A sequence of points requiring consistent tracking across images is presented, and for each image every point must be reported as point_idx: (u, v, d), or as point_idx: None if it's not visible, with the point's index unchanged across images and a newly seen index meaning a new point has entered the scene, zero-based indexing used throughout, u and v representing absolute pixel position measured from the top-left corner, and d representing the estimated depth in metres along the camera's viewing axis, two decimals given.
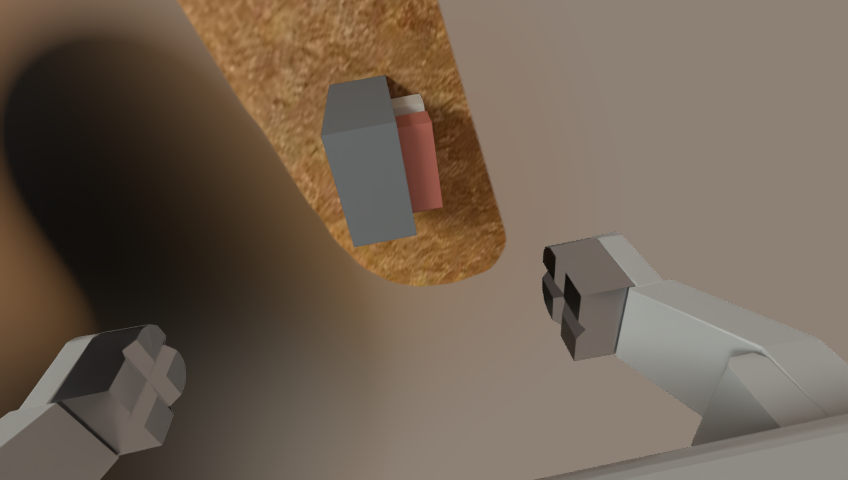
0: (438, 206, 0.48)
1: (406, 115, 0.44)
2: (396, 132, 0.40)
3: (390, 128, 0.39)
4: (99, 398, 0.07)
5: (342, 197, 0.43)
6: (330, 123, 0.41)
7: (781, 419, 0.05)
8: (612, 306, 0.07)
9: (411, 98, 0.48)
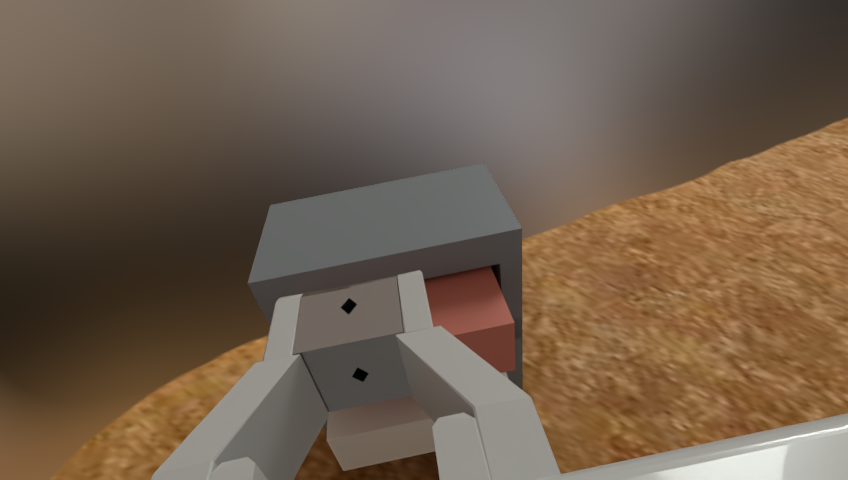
0: None
1: None
2: (500, 230, 0.20)
3: (507, 223, 0.20)
4: (337, 350, 0.07)
5: (374, 187, 0.25)
6: None
7: None
8: (387, 351, 0.07)
9: None
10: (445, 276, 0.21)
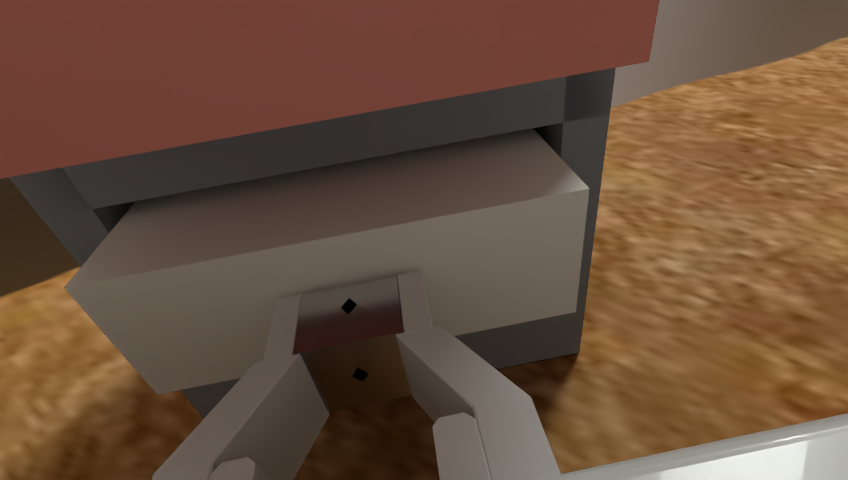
0: None
1: None
2: None
3: None
4: (337, 350, 0.07)
5: None
6: None
7: None
8: (387, 351, 0.07)
9: None
10: None
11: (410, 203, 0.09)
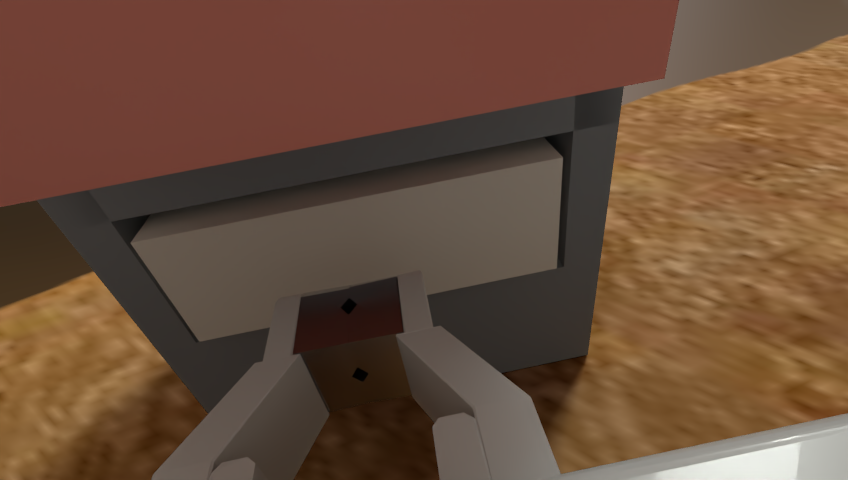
0: None
1: None
2: None
3: None
4: (337, 350, 0.07)
5: None
6: None
7: None
8: (387, 351, 0.07)
9: None
10: None
11: (414, 173, 0.10)
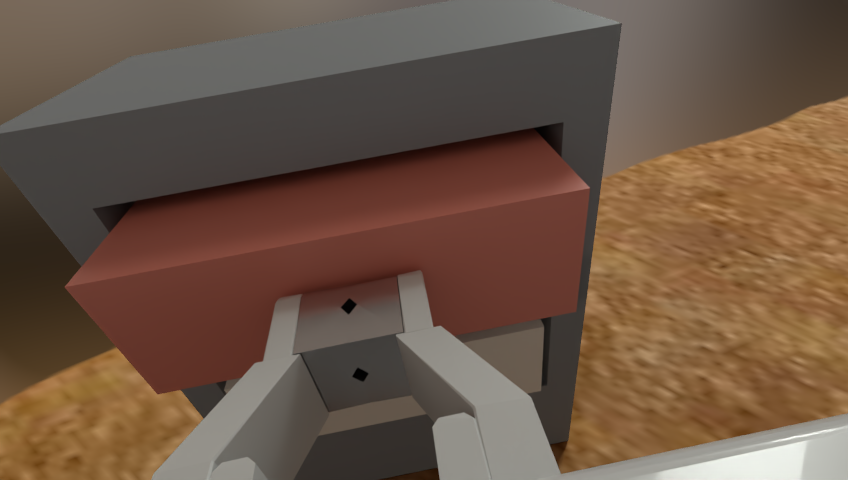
0: (86, 268, 0.08)
1: None
2: (570, 30, 0.09)
3: (583, 22, 0.09)
4: (337, 350, 0.07)
5: (318, 25, 0.14)
6: None
7: None
8: (387, 351, 0.07)
9: None
10: None
11: None
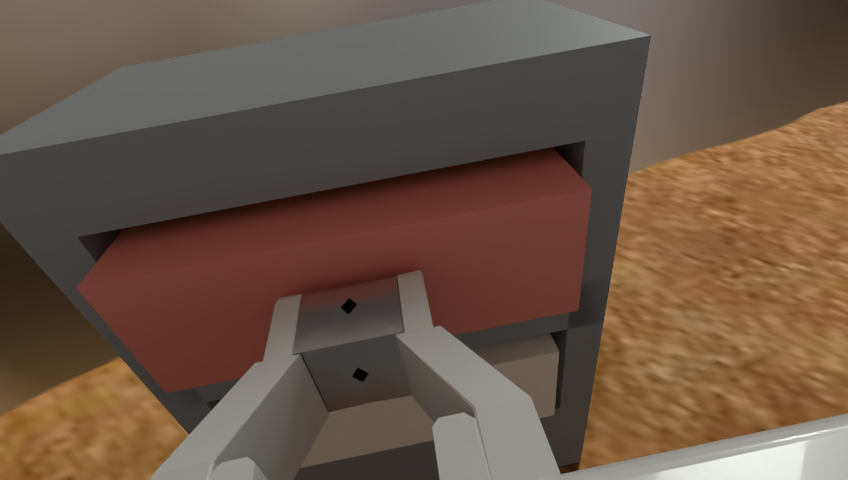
0: (97, 269, 0.08)
1: None
2: (595, 43, 0.08)
3: (608, 34, 0.08)
4: (337, 350, 0.07)
5: (319, 33, 0.13)
6: None
7: None
8: (387, 351, 0.07)
9: None
10: None
11: None
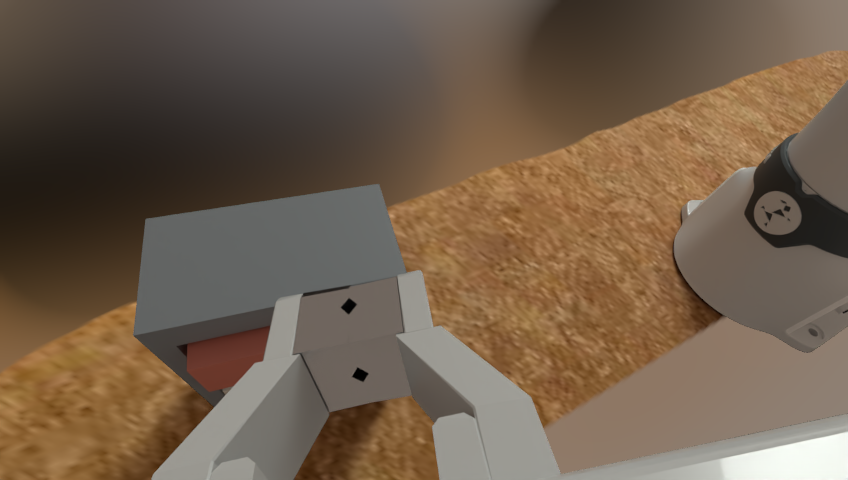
0: (190, 360, 0.21)
1: None
2: None
3: (395, 270, 0.23)
4: (337, 350, 0.07)
5: (265, 204, 0.24)
6: None
7: None
8: (387, 351, 0.07)
9: None
10: None
11: None
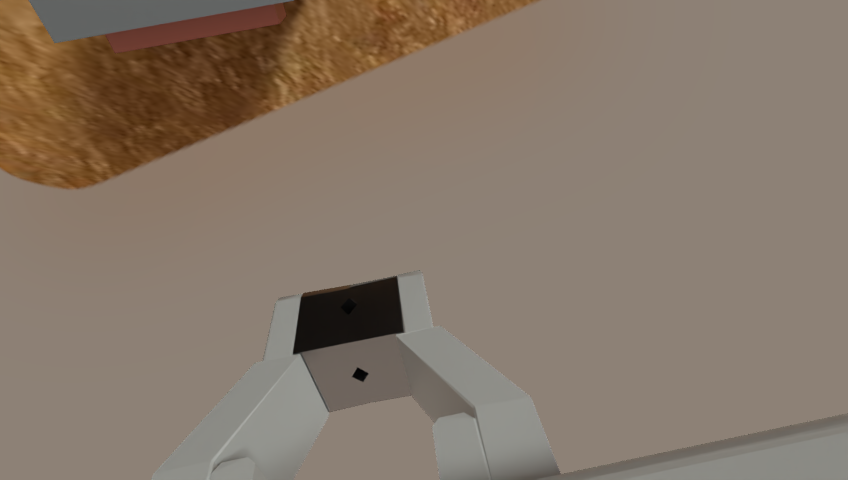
0: (113, 44, 0.25)
1: None
2: (274, 1, 0.23)
3: None
4: (337, 351, 0.07)
5: None
6: None
7: None
8: (387, 351, 0.07)
9: None
10: None
11: None
